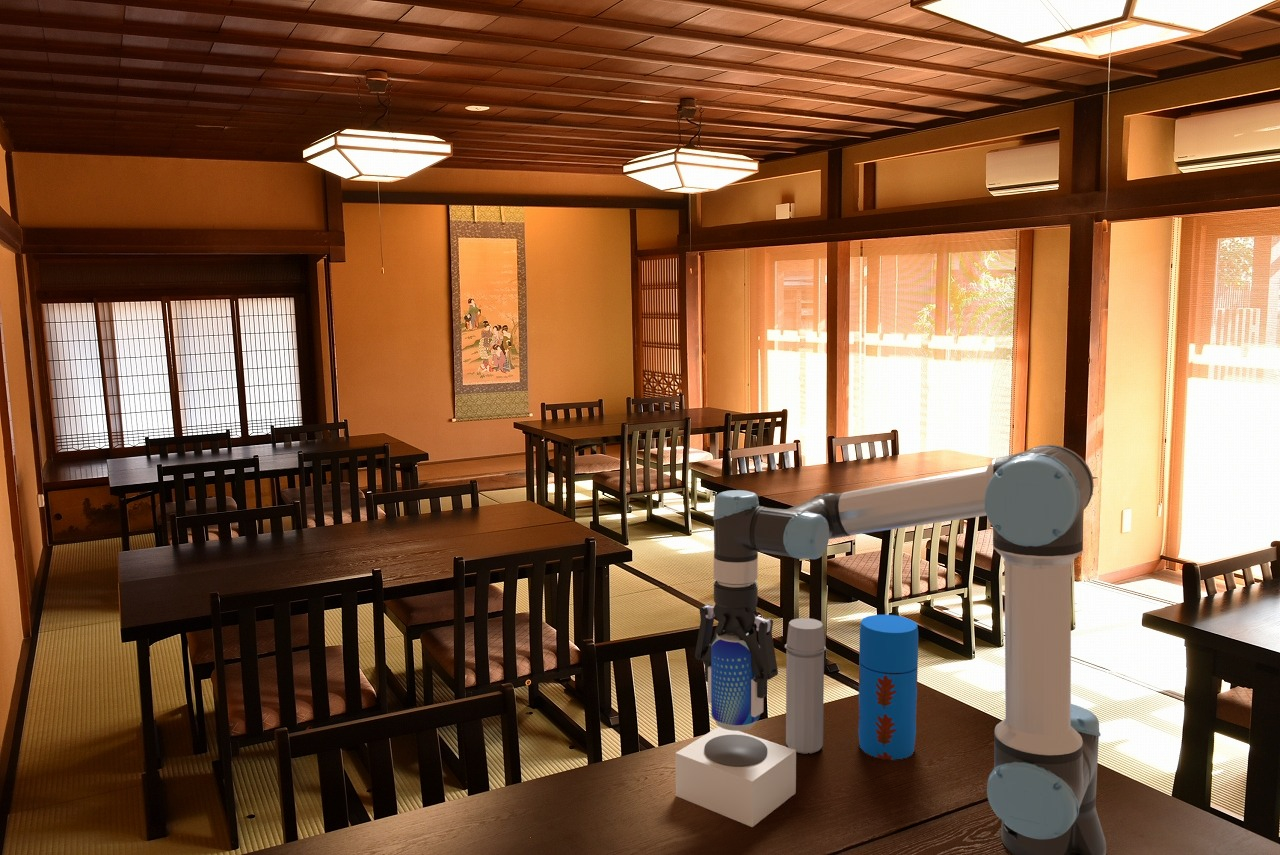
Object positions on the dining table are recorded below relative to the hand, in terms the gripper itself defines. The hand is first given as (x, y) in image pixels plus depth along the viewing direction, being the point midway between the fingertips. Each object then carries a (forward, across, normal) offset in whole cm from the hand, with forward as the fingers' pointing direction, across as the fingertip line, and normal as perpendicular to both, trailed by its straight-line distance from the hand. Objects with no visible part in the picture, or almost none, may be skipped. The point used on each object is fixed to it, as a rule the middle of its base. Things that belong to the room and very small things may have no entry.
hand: (735, 706), depth 161 cm
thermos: (+16, -13, -33) cm, 39 cm away
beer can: (+3, 0, 0) cm, 3 cm away
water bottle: (+16, 0, -24) cm, 29 cm away
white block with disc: (+16, 0, 0) cm, 16 cm away
